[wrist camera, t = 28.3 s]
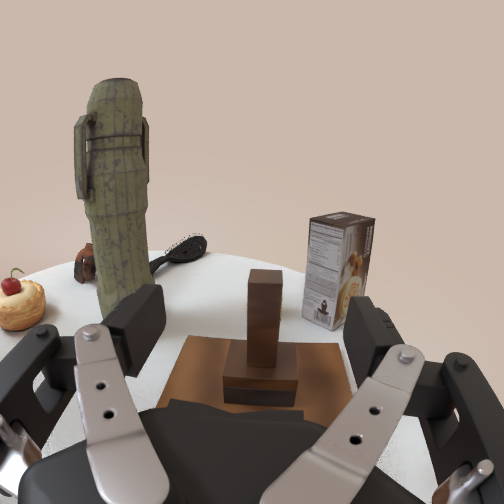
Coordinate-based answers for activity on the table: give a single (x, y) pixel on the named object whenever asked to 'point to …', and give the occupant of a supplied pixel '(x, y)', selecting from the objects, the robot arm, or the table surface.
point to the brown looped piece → (85, 264)
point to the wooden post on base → (262, 350)
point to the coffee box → (336, 266)
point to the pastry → (20, 303)
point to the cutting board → (307, 398)
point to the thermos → (115, 187)
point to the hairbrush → (182, 252)
